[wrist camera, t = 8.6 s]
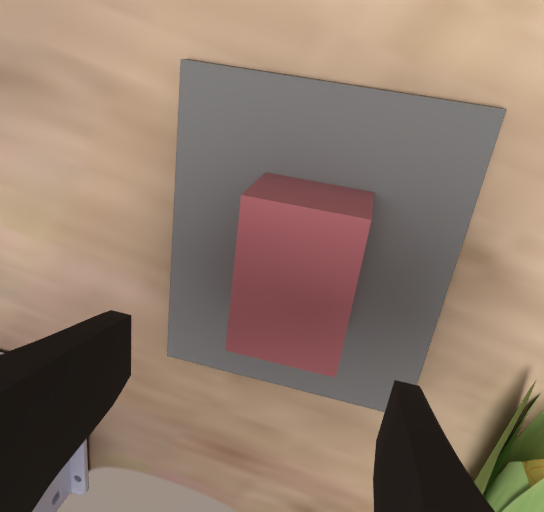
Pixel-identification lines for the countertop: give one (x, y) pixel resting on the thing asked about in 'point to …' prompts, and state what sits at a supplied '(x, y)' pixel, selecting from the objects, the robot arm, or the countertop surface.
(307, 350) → the pink rectangular block
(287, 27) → the countertop surface
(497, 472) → the edible corn
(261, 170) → the mat
